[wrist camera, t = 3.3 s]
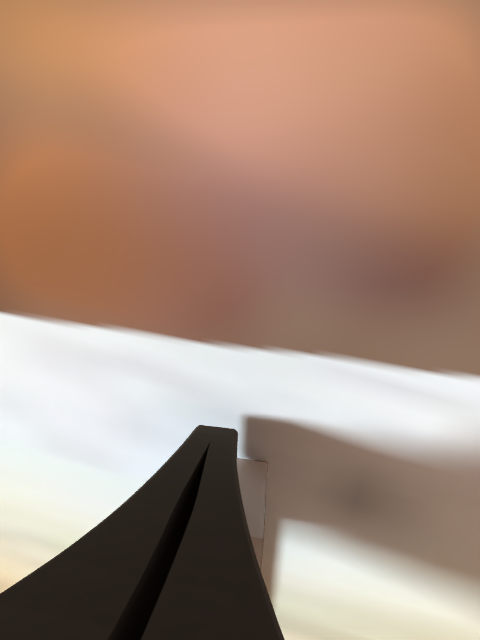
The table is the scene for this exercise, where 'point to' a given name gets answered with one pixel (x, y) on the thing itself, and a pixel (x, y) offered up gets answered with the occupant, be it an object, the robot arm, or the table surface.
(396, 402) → the table surface
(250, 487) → the dumbbell with block ends
